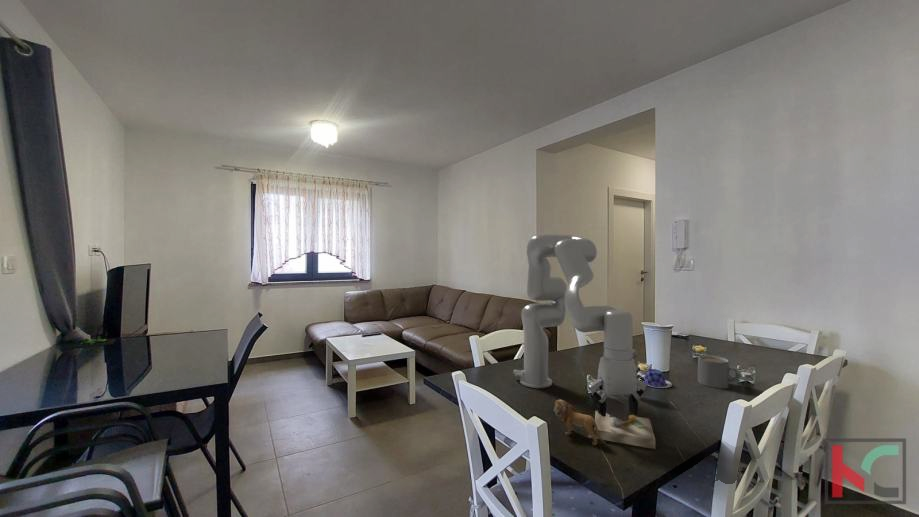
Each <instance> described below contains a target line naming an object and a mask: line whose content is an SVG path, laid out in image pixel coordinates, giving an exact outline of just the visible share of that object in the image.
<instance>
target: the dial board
mask: <svg viewBox="0 0 919 517" xmlns="http://www.w3.org/2000/svg"><path fill="white" fill-rule="evenodd" d="M594 413H595V414H594V420H595V422H596V425H597V428H598V431H599V435H600V437H601V439H602V440H604V441H605V442H608V441H609V442H612V443H619V444H625V445H631V446H635V447H641V448H646V449H647V448H648V449H652V450H656V437H655V433H654V431H653V426H652V422H651V420H650V418H648V417H640V416H636V420H633V421H630V422H627V423H624V424H622V425H621V426H616V425H614V424H613V416H611V415H609V414H607V413H606V416H605V417H603V416H602V415H600V414H599V413H598V411H597V410H595V411H594ZM594 435H595V436H596V438H597V440H600V439H599V437H598V435H597V432H596V429H595V428H594Z"/></svg>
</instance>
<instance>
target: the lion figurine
mask: <svg viewBox="0 0 919 517" xmlns="http://www.w3.org/2000/svg"><path fill="white" fill-rule="evenodd" d="M553 412H554V415H555V416H557V417H559V418H560V420H561V421H562V422H564V423H565V425H566V428H567V431H565V435H567V436H568V435H571V433H572V431H573V429H574V426H577V427H579V428H583V427H584V428H585V430H586V432H587V434H588V435H587V437H588V438H589V439H592V440H593V441H591V445H592V446H597V445H598V440H600V442H601V443H603V444H607V441H606V440H602V439H601V437H600V435H599V431H598V428H597V425H596V422H595V417H593V416H591V415H590V414H584V413H581V412H578V411H577V409H576V408H575V407H574V406H573V405H572V404H570V403H569V402H567V401H566V400H563V399H557V400H555V403H554V409H553ZM595 429H596V432H597V435H598V437H599V439H597V438H596V436H595Z"/></svg>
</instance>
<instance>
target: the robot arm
mask: <svg viewBox="0 0 919 517" xmlns="http://www.w3.org/2000/svg"><path fill="white" fill-rule="evenodd" d="M597 253H598V252H597V247H596V244H595V243H594V242H593V241H592V240H590V239H588V238H585V237H580V236H575V235H570V234H551V233H550V234H547V233H546V234H537V235H534V236H531V238H530V239H529V240H528V242H527V245H526V256H527V261H528V270H527V271H528V272H527V285H526V286H527V287H526V295H527V296H528V299H530V300H531V301H535V302H536V303H530V304H527V305H525V306H523V308H522V309H521V313H520V314H521V316H520V317H521V322H522V326H523V328H522V329H523V369H521V370H520V369H513V375H514V377H520V378H519V383H520V384H521V385H522V386H525V387H527V388H531V389H546V388H550V387H551V386H552V385H553V380H552V379H551V378H549V338H548V335H547V334H546V332H545V331H544V329H545V328H551V327H559V326H561V325H562V324H564V322H565V319H566V313H567V317H568V318H569V320H570V322H571V324H572V326H573V328H574V329H576V330H577V331H578V332H580V333H593V332H603V356H601V357H600V360H599V364H598V369H597V379H596V380H595V381H593V382H591V383H590V384H589V385H588V389H589V391H590V394H591V396H593V398H595V399H596V411H598V413H599V414H600V415H602V416H603V417H605V416H606V402H605V401H606V398H607V397H608V396H624V395H629V394H630V395H631V396H629V397H628V402H629V412H631V413H632V414H633V415H638V414H639V413H638V412H639V410H638V409H639V401H640V400H641V397H642V395H644V392H645V390H646V387H647V384H646V383H644V382H642V381H640V380H638V379H639V378H638V374H637V372H636V366H635V364H636V363H635V362H636V361H635V358H634V355H636V354H637V352H636V351H637V350H636V349H635V348H633V322H634V320H633V314H632V313H631V312H630V311H627V310H623V309H616V308H615V307H612V306H609V305H594V306H593V305H592V306H584V305H583V302H582V300H581V297H580V294H579V293H580V292H579V290H580V289H581V288H583V287H585V286H586V285H588V284H590V282H592V281H593V279H594V272H593V269H592V268H591V266H590V264H589V263H592V262H593V261H595V259H596V258H597ZM548 258H556V259H557V261H558V264H559V266H560V268H561V270H562V272H563V274H564V277H565V279H566V282H567V283H566V282H565V280H564V279H563V278H562V277H560V276H553V275H552V276H551V263H550V262H549V260H548ZM541 301H543V302H541ZM544 301H545V302H546V301H548V302H546V303H545V302H544ZM537 302H539V303H537ZM540 302H541V303H540ZM634 361H635V362H634ZM597 390H598V391H597Z"/></svg>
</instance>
